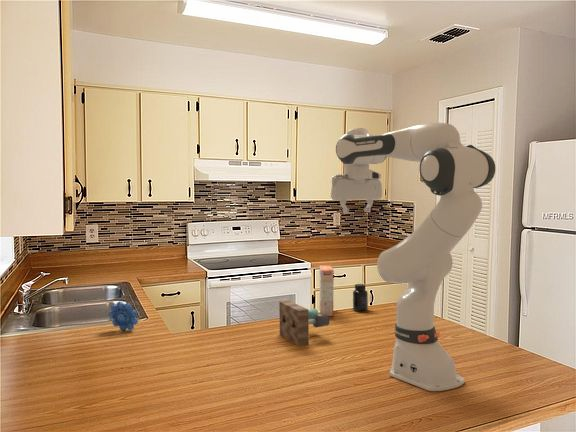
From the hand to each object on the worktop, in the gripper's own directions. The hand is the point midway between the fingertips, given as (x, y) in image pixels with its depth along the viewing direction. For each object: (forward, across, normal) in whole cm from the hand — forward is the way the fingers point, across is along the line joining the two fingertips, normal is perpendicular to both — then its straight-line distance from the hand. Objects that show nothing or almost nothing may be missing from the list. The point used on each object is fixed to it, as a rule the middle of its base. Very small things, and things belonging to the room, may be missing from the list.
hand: (356, 212), depth 170 cm
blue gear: (+48, -75, +56) cm, 105 cm away
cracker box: (+48, +12, +42) cm, 65 cm away
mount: (+48, -19, +14) cm, 53 cm away
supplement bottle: (+48, +28, +38) cm, 67 cm away
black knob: (+43, -13, +10) cm, 46 cm away
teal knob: (+43, -13, +18) cm, 49 cm away
